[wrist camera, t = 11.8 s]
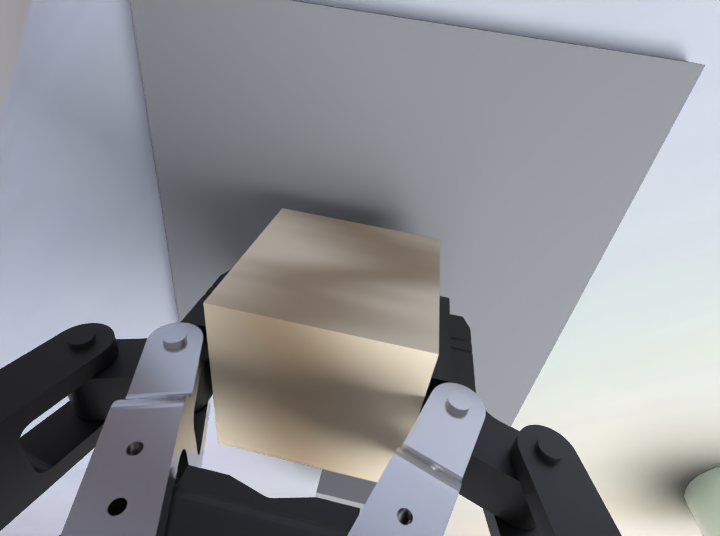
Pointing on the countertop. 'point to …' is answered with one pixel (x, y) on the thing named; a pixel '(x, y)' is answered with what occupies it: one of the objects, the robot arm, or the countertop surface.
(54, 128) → the countertop surface
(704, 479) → the sage cylinder
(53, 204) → the countertop surface
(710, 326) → the countertop surface
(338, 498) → the dark grey block
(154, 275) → the countertop surface
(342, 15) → the charcoal mat
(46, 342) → the robot arm
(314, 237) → the birch cube
